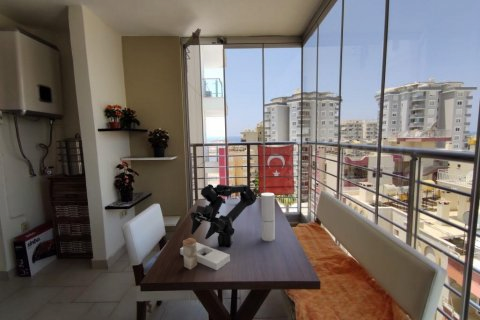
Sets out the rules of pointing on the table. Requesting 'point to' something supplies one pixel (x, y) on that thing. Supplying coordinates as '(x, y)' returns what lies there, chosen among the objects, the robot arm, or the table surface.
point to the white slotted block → (210, 256)
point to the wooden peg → (190, 253)
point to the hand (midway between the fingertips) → (198, 236)
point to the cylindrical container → (268, 216)
